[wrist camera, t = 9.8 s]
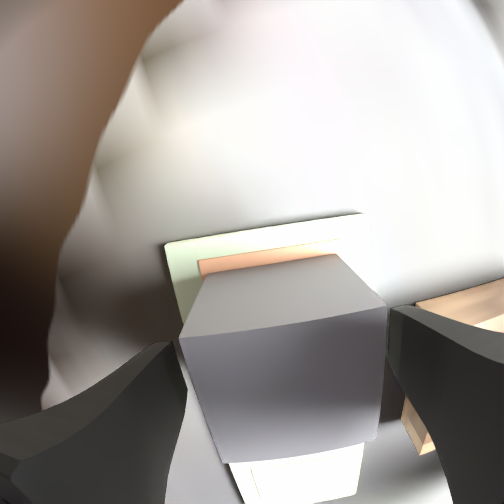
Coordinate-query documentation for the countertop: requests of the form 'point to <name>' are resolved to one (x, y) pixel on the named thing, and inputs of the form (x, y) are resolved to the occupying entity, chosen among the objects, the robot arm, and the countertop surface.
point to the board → (267, 252)
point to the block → (287, 358)
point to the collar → (466, 311)
